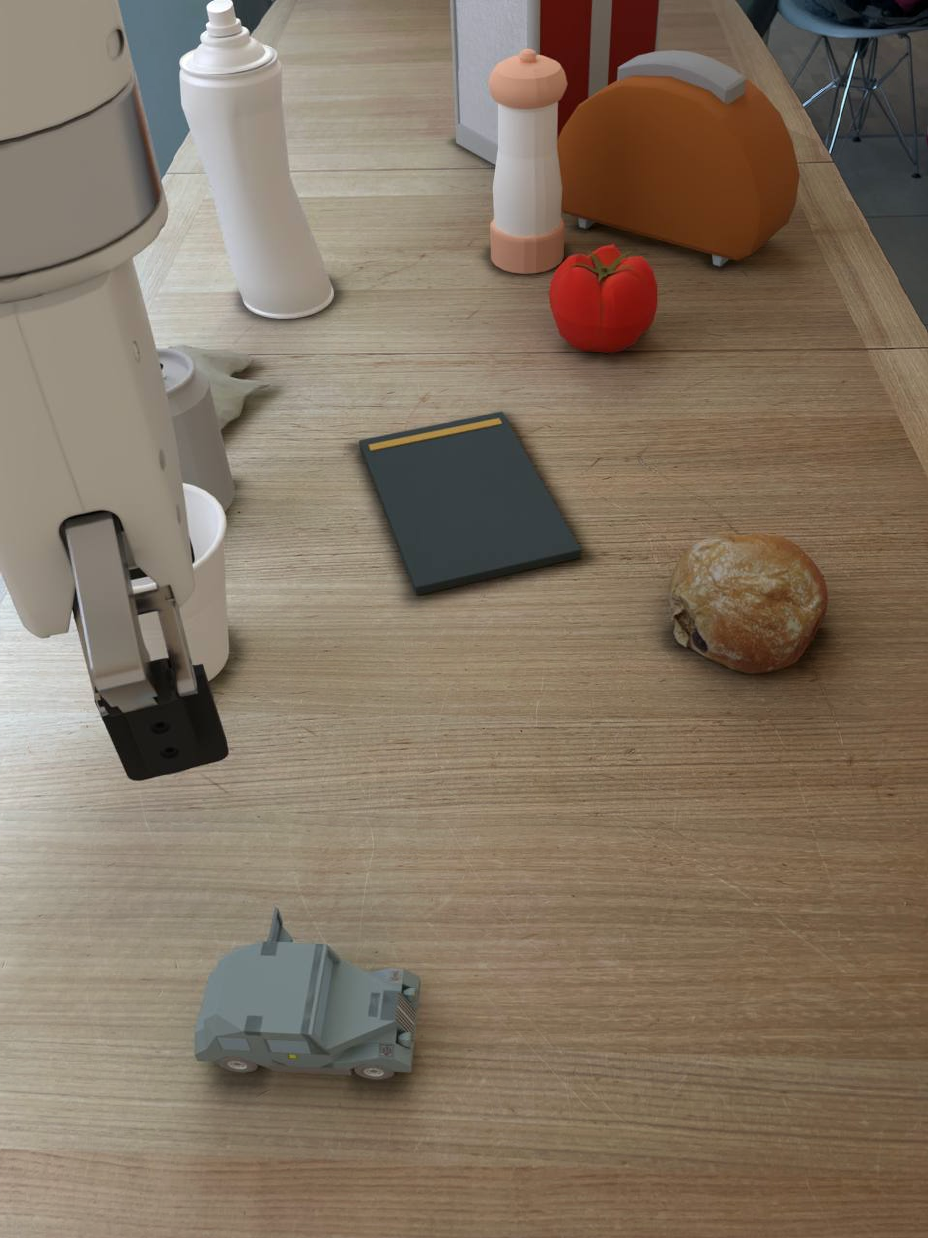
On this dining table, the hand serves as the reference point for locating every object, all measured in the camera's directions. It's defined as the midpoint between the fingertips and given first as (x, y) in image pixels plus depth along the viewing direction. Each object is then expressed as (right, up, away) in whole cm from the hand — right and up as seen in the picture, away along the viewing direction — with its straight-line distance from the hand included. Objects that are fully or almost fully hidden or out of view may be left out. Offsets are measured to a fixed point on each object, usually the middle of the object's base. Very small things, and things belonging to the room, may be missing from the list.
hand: (166, 658), depth 38 cm
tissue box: (+21, +58, +89) cm, 109 cm away
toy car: (+3, -18, +15) cm, 24 cm away
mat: (+10, +10, +42) cm, 45 cm away
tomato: (+23, +26, +58) cm, 68 cm away
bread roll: (+29, +1, +33) cm, 44 cm away
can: (-10, +10, +43) cm, 46 cm away
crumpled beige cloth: (-12, +19, +52) cm, 57 cm away
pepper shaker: (+17, +38, +69) cm, 81 cm away
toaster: (+31, +41, +72) cm, 89 cm away
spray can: (-8, +33, +67) cm, 75 cm away
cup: (-8, -2, +32) cm, 33 cm away
